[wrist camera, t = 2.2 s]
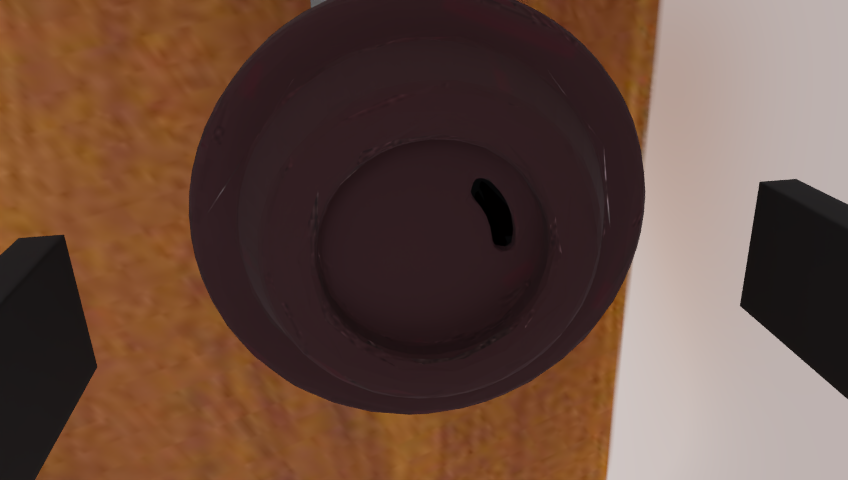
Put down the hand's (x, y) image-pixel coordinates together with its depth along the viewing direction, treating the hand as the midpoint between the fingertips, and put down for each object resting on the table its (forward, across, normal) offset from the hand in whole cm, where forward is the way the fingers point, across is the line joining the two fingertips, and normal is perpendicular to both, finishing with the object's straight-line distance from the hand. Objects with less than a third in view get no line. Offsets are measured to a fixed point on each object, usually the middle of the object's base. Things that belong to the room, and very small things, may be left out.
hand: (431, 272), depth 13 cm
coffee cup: (+16, 0, 0) cm, 16 cm away
